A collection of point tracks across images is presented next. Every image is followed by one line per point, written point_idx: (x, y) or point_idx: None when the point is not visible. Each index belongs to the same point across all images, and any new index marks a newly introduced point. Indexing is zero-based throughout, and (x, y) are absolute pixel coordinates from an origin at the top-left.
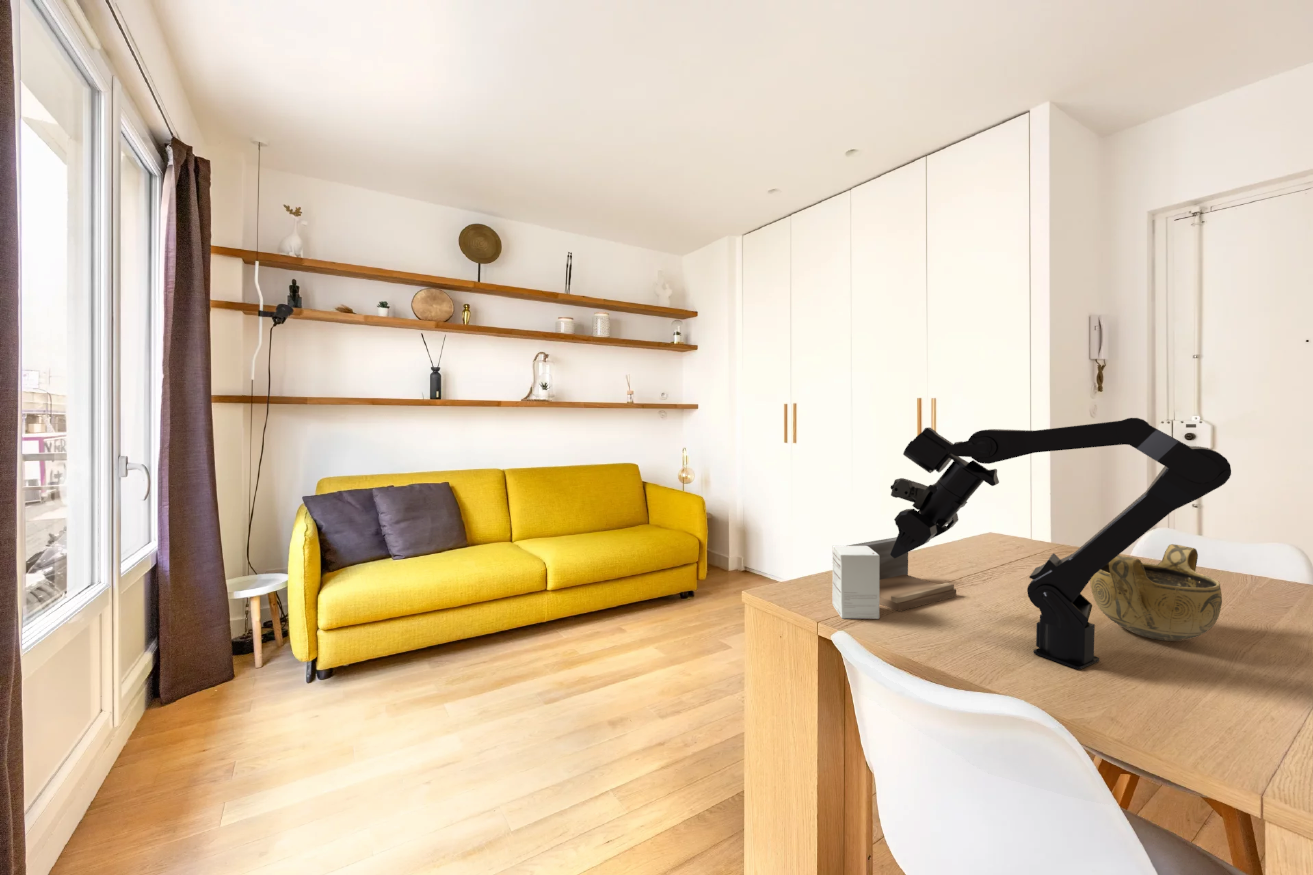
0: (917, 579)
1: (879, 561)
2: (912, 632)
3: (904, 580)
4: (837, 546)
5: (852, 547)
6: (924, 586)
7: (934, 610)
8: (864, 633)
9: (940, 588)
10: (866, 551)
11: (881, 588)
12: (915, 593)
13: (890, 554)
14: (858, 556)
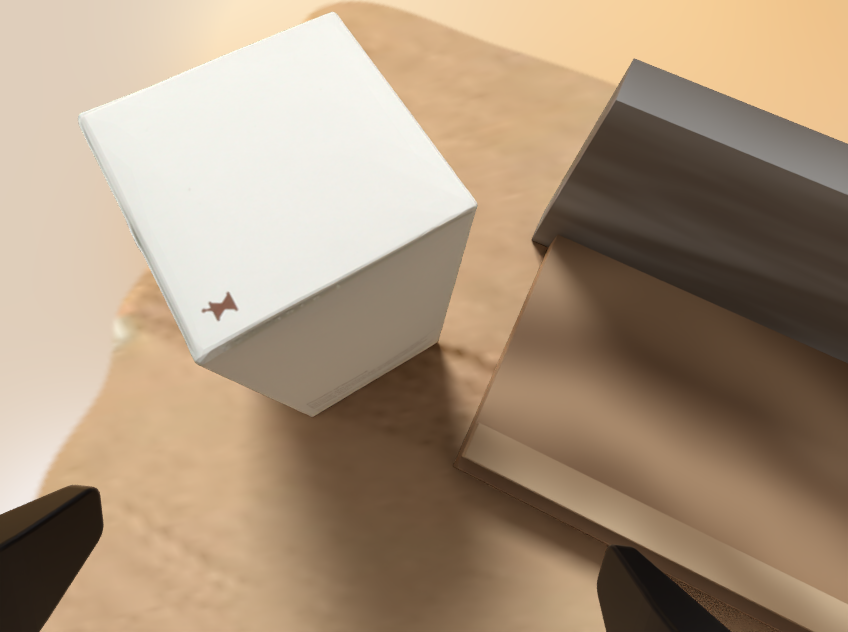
0: None
1: (221, 375)
2: (234, 570)
3: (809, 409)
4: (319, 40)
5: (332, 128)
6: (793, 514)
7: (563, 600)
8: (133, 406)
9: (778, 613)
10: (253, 245)
11: (616, 348)
12: (594, 516)
13: (70, 488)
14: (127, 224)
